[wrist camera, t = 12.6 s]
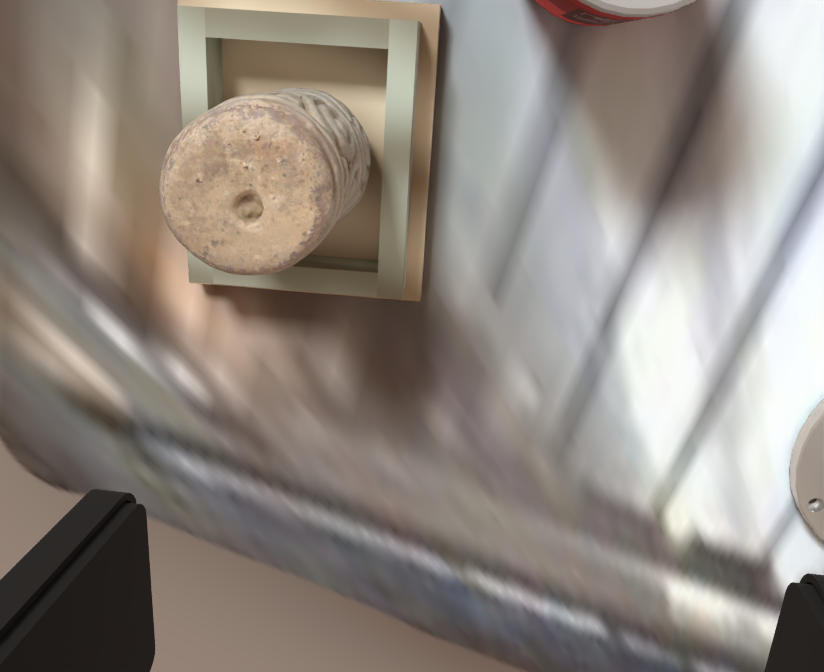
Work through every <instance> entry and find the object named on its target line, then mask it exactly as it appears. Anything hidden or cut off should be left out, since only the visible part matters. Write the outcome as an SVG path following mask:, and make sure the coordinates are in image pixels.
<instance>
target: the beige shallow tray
mask: <svg viewBox="0 0 824 672" xmlns="http://www.w3.org/2000/svg"><path fill="white" fill-rule="evenodd" d="M177 15H178V38H179V60H180V83H181V106H182V129H184V128H185V127H186V126H187V125H188V124H189V123H191V122H192V121H193V120H195V119H196V118H197V117H199V116H200V115H201V114H203V113H205V112H206V111H208V110H210V109H212V108H213V107H215V106H217V105H219V104H221V103H222V102H224V101H226V100H228V99H231V98H234V97H238V96H244V95H248V94H254V93H262V92H270V91H276V90H279V89H282V88H310V89H315V90H320V91H324V92H326V93H329V94H331V95H332V96H333V97H335V98H336V99H338V100H339V101H341V102H342V103H343V104H345V105H346V106H347V107H348V108H349V110H350V111H351V112H352V114H353V115H354V116H355V117H356V118H357V120H358V121H359V122H360V124H361V126H362V127H363V129H364V131H365V133H366V135H367V137H368V141H369V147H370V158H371V168H370V173H369V178H368V183H367V187H366V190H365V192H364V195H363V196H362V198H361V200H360V201H359V203H358V204H357V205H356V206H355V207H354V209H353V210H352V211H351V212H350V213H349V214H348V215H346V216H345V217H344V218H343V219H342V220H341V221H339V222H338V223H337V224H335V225H334V227H333V228H332V229H331V231H330V232H329V233H328V234H327V236H326V237H325V238H324V239H323V240H322V242H321V243H320V244H319V245H318V246H317V247H316V248H315V249H314V250H313V251H312V252H311V253H310V254H308V255H307V256H306V257H304V258H303V259H301V260H300V261H299V262H298V263H296V264H295V265H293V266H291V267H289V268H287V269H285V270H282V271H280V272H275V273H271V274H263V275H235V274H230V273H226V272H223V271H220V270H218V269H215V268H213V267H211V266H209V265H207V264H205V263H204V262H202V261H201V260H199V259H198V258H196V257H195V256H194V255H192V254H191V253H190V252H189V251H188V267H189V282H190V283H197V284H209V285H222V286H234V287H246V288H259V289H271V290H283V291H295V292H308V293H320V294H332V295H345V296H357V297H369V298H382V299H394V300H406V301H419V302H420V299H421V294H422V279H423V265H424V250H425V235H426V221H427V206H428V192H429V177H430V163H431V148H432V134H433V119H434V104H435V90H436V75H437V61H438V46H439V32H440V17H441V5H439V4H423V3H407V2H391V1H375V0H178V5H177Z"/></svg>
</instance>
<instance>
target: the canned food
mask: <svg viewBox="0 0 824 672" xmlns="http://www.w3.org/2000/svg"><path fill="white" fill-rule="evenodd" d="M535 1H536V2H537V3H538V4H539V5H540V6H542V7H543V8H544V9H546V10H547V11H548V12H550V13H551V14H552V15H554V16H557V17H559V18H561V19H563V20H565V21H567V22H571V23H575V24H579V25H584V26H604V25H610V24H616V23H622V22H627V21H633V20H639V19H644V18H649V17H654V16H659V15H663V14H666V13H670V12H673V11H675V10H677V9H680V8H682V7H685V6H687V5H690V4H692V3H694V2H695V1H697V0H535Z"/></svg>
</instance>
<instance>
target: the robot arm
mask: <svg viewBox="0 0 824 672" xmlns="http://www.w3.org/2000/svg"><path fill="white" fill-rule="evenodd" d="M790 483H791V490H792V493H793V496H794V499H795V503H796V506H797V507H798V509H799V510H800V512H801V514H802V515H803V517H804V519H805V520H806V522H807V523H808V524H809V526H810V527H811V528H812V529H813V531H814V532H815V533H816V534H817V536H818V537H819V538H821V539H822V540H823V541H824V399H823V400H822V401H821V402H820V403H819V404H818V405H817V407H816V408H815V409H814V410H813V411H812V412H811V414H810V415H809V417H808V419H807V420H806V422H805V423H804V425H803V427H802V428H801V430H800V432H799V434H798V437H797V440H796V442H795V445H794V447H793V450H792V457H791V463H790ZM154 655H155V639H154V622H153V607H152V594H151V577H150V562H149V547H148V533H147V517H146V509H145V507H144V506H143V505H142V504H136V499H135V497H134V495H132V494H131V493H125V492H116V491H108V490H99V489H94V490H91V491H90V492H89V493H87V494H86V495H85V496H84V497H83V498H82V499H81V500H80V501H79V502H78V503H77V504H76V505H75V506H74V507H73V508H72V509H71V510H70V511H69V512H68V513H67V514H66V515H65V516H64V517H63V518H62V519H61V520H60V521H59V522H58V523H57V524H56V525H55V526H54V527H53V528H52V529H51V530H50V531H49V532H48V533H47V534H46V535H45V536H44V537H43V538H42V539H41V540H40V542H38V543H37V544H36V545H35V546H34V547H33V548H32V549H31V550H30V551H29V552H28V553H27V554H26V555H25V556H24V557H23V558H22V559H21V560H20V561H19V562H18V563H17V564H16V565H15V566H14V567H13V568H12V569H11V570H10V571H9V572H8V573H7V574H6V575H5V576H4V577H3V578H2V579H1V580H0V672H150V669H151V667H152V664H153V660H154ZM765 672H824V575H816V574H806V575H804V576H803V578H802V579H801V581H800V583H790V584H789V586H788V587H787V590H786V593H785V597H784V600H783V604H782V608H781V612H780V615H779V619H778V623H777V627H776V630H775V634H774V638H773V642H772V645H771V649H770V653H769V657H768V661H767V664H766V668H765Z"/></svg>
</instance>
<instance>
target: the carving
mask: <svg viewBox="0 0 824 672" xmlns="http://www.w3.org/2000/svg"><path fill="white" fill-rule="evenodd" d="M370 168H371V158H370V147H369V141H368V137H367V135H366V133H365V131H364V129H363V127H362V126H361V124H360V122H359V121H358V120H357V118H356V117H355V116H354V115H353V114H352V112H351V111H350V110H349V108H348V107H347V106H346V105H345V104H343V103H342V102H341V101H339V100H338V99H336V98H335V97H333V96H332V95H331V94H329V93H326V92H324V91H320V90H315V89H310V88H282V89H279V90H276V91H270V92H262V93H254V94H248V95H244V96H238V97H234V98H231V99H228V100H226V101H224V102H222V103H221V104H219V105H217V106H215V107H213V108H212V109H210V110H208V111H206V112H205V113H203V114H201V115H200V116H199V117H197V118H196V119H195V120H193V121H192V122H191V123H189V124H188V125H187V126H186V127H185V128H184V129H183V130H182V131H181V132H180V133H179V134H178V136H177V137H176V138H175V139H174V140H173V142H172V144H171V145H170V147H169V149H168V151H167V153H166V156H165V159H164V162H163V166H162V171H161V177H160V189H159V194H160V202H161V207H162V211H163V214H164V217H165V219H166V222H167V224H168V227H169V228H170V230H171V231H172V233H173V234H174V236H175V237H176V238H177V240H178V241H179V242H180V243H181V244H182V245H183V246H184V247H185V248H186V249H187V250H188V251H189V252H190V253H191V254H192V255H194V256H195V257H196V258H198V259H199V260H201V261H202V262H204V263H205V264H207V265H209V266H211V267H213V268H215V269H218V270H220V271H223V272H226V273H230V274H235V275H263V274H271V273H275V272H280V271H282V270H285V269H287V268H289V267H291V266H293V265H295V264H296V263H298V262H299V261H300V260H301V259H303V258H304V257H306V256H307V255H308V254H310V253H311V252H312V251H313V250H314V249H315V248H316V247H317V246H318V245H319V244H320V243H321V242H322V240H323V239H324V238H325V237H326V236H327V234H328V233H329V232H330V231H331V229H332V228H333V227H334V225H335V224H337V223H338V222H339V221H341V220H342V219H343V218H344V217H345V216H346V215H348V214H349V213H350V212H351V211H352V210H353V209H354V207H355V206H356V205H357V204H358V203H359V201H360V200H361V198H362V196H363V195H364V192H365V190H366V187H367V183H368V178H369V173H370Z"/></svg>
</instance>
